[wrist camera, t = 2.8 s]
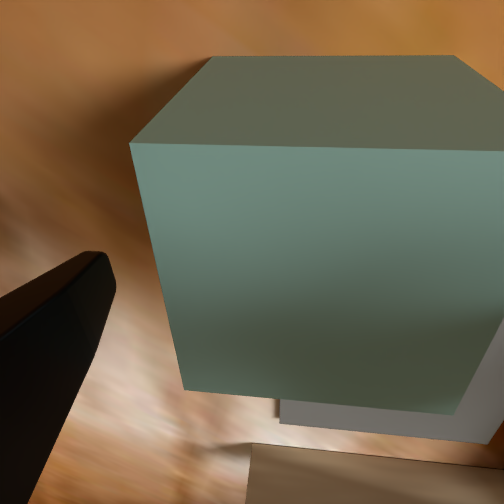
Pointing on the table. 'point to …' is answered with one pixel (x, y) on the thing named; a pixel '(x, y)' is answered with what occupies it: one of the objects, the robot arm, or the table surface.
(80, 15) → the table surface
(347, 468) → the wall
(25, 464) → the robot arm
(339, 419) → the mat
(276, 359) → the cube
